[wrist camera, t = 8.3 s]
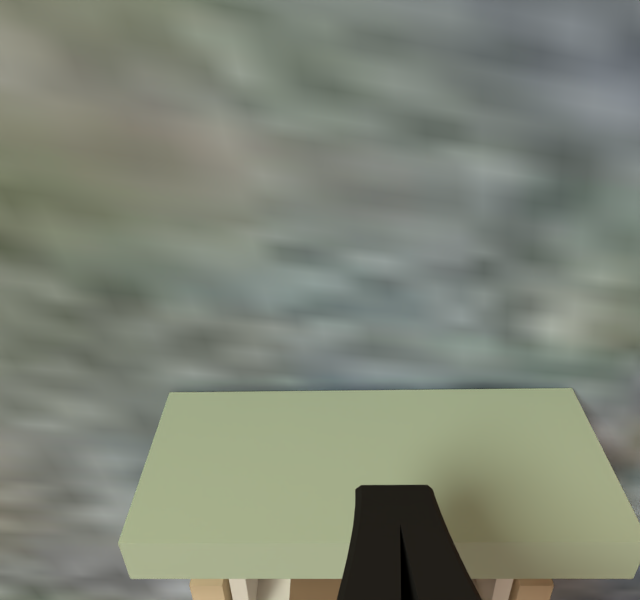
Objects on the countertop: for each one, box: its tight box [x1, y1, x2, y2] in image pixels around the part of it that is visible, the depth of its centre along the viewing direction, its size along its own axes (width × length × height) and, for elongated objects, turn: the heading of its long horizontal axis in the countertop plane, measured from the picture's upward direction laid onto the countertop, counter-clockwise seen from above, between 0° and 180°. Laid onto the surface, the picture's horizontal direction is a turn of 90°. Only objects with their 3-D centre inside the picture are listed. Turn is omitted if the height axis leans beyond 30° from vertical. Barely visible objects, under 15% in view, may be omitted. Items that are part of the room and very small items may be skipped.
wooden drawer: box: [118, 388, 640, 600], centre depth 20 cm, size 10×14×6 cm
